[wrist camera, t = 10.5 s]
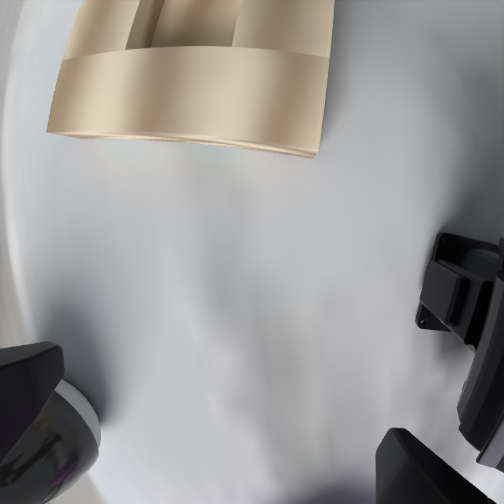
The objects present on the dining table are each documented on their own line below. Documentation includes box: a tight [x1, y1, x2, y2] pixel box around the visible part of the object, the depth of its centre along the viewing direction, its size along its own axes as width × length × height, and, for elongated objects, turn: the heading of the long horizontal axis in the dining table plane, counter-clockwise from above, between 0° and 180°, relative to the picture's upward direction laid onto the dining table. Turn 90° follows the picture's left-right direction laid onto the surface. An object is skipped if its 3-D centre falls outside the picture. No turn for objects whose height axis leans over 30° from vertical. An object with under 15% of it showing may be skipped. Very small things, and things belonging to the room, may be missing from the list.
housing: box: [47, 0, 335, 158], centre depth 15 cm, size 16×16×4 cm
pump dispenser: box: [0, 380, 101, 504], centre depth 17 cm, size 10×10×15 cm
